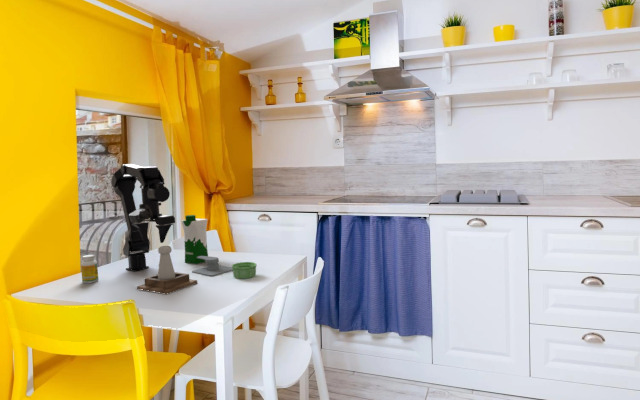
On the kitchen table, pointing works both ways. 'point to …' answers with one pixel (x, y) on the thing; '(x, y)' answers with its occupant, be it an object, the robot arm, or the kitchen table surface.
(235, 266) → the ramekin
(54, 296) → the kitchen table surface
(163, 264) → the salt shaker
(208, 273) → the shower valve
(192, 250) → the milk carton
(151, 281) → the collar socket
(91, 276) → the supplement bottle
